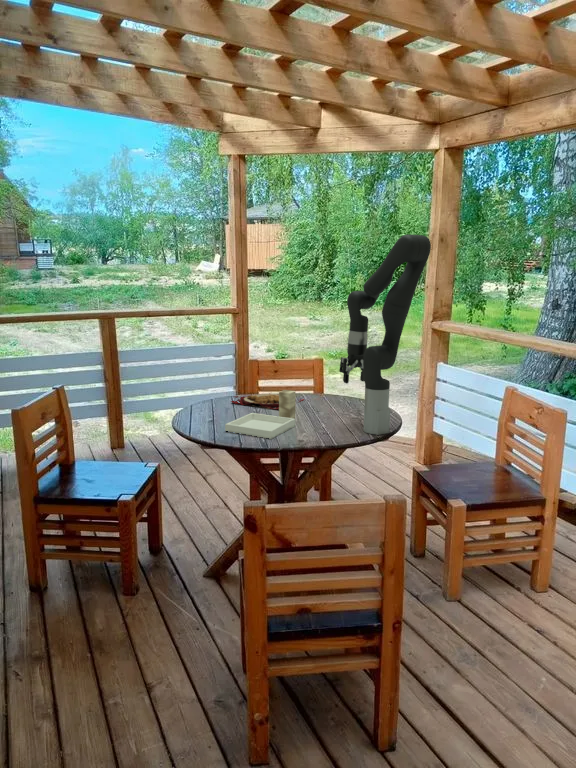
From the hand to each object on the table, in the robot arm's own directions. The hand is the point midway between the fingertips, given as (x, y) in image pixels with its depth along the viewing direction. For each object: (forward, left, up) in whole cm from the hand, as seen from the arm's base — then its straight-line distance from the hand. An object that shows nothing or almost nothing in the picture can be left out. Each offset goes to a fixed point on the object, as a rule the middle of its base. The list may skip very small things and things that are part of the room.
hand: (354, 382), depth 220 cm
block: (+19, +20, -17) cm, 32 cm away
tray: (+13, +36, -17) cm, 42 cm away
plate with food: (+51, +10, -18) cm, 55 cm away
